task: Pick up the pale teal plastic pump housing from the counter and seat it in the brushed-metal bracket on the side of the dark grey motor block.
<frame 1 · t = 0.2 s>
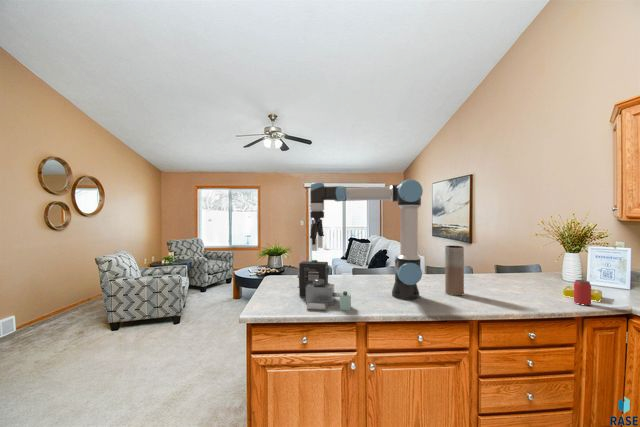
hand: (317, 249, 160), 27 cm above the worktop, fingers open, 13 cm apart
beer can: (582, 304, 149), on the worktop
vase: (454, 293, 169), on the worktop
motor: (320, 302, 153), on the worktop
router: (313, 295, 167), on the worktop
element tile: (582, 298, 162), on the worktop
pump: (345, 308, 144), on the worktop
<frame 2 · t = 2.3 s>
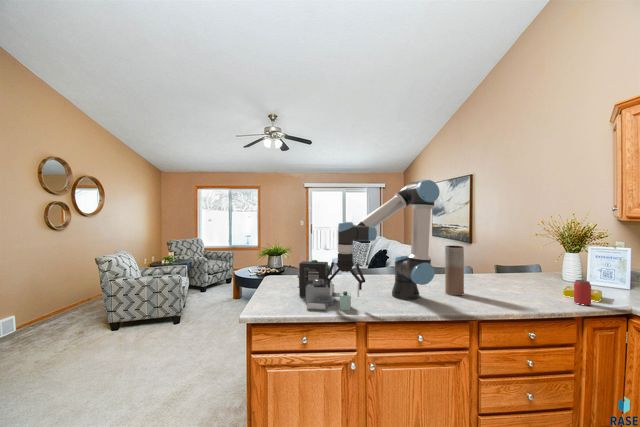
hand: (344, 295, 144), 6 cm above the worktop, fingers open, 13 cm apart
nothing on the worktop moved.
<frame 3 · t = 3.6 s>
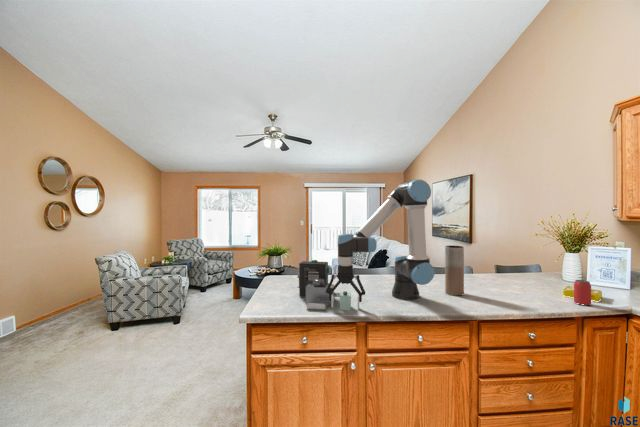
hand: (345, 307, 144), 0 cm above the worktop, fingers open, 12 cm apart
nothing on the worktop moved.
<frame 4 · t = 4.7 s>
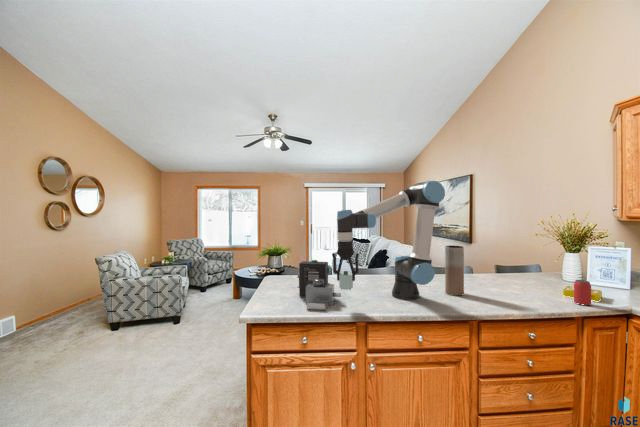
hand: (346, 287, 144), 10 cm above the worktop, fingers closed on pump, 5 cm apart
pump: (346, 287, 144), point 10 cm above the worktop, touching gripper
everything else where it was.
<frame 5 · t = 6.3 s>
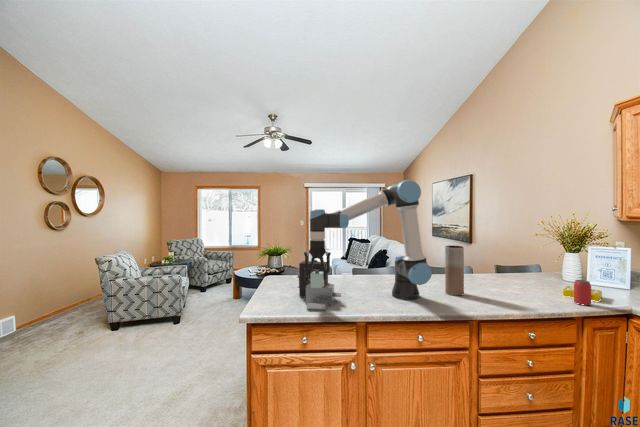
hand: (317, 285, 145), 11 cm above the worktop, fingers closed on pump, 5 cm apart
pump: (317, 286, 145), point 10 cm above the worktop, touching gripper
everything else where it was.
when the fingers open (2 cm above the worktop, at t = 8.1 s): pump stays where it is, resting on motor.
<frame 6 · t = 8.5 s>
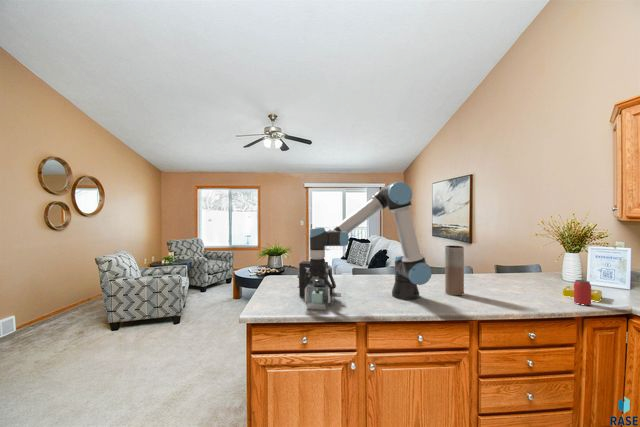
hand: (317, 301, 145), 3 cm above the worktop, fingers open, 11 cm apart
pump: (317, 305, 145), point 1 cm above the worktop, touching motor
everything else where it was.
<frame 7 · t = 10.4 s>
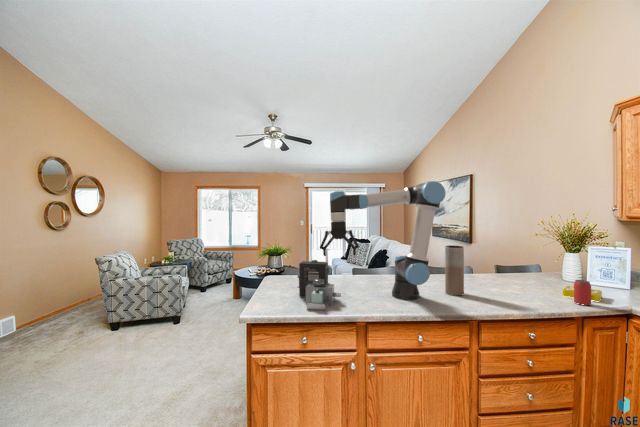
hand: (339, 262, 150), 22 cm above the worktop, fingers open, 13 cm apart
nothing on the worktop moved.
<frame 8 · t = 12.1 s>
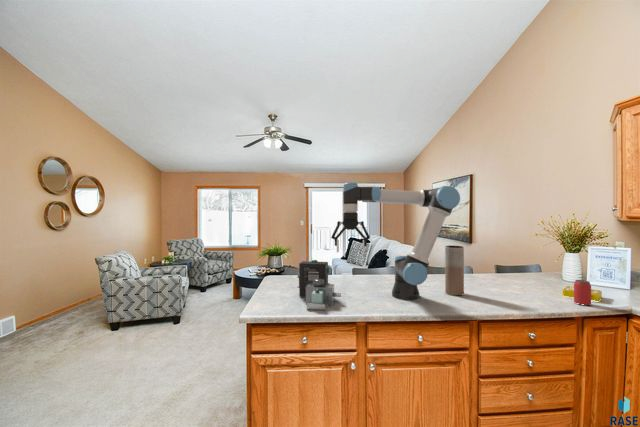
hand: (350, 252, 152), 27 cm above the worktop, fingers open, 13 cm apart
nothing on the worktop moved.
at the end: pump 0.0 cm from the target spot on the motor, point 0.6 cm above the motor's base; pump tilted 0°; the gripper is holding nothing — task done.
